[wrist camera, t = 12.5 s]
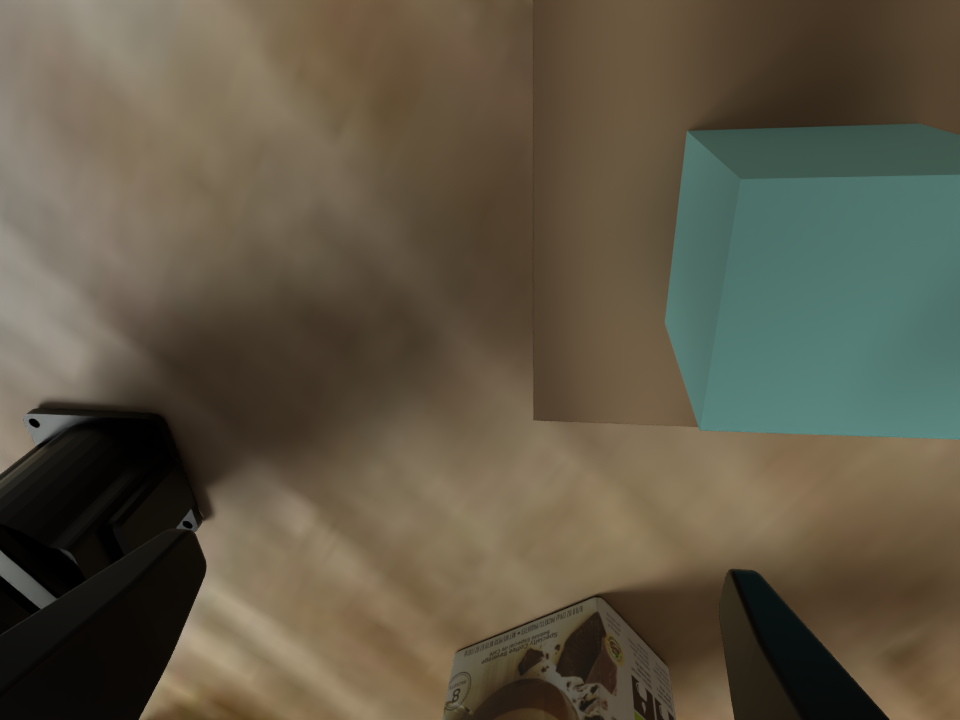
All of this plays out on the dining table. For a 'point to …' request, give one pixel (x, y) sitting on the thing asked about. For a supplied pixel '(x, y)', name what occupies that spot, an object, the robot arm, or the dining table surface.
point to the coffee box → (562, 672)
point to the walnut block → (660, 152)
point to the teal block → (819, 280)
